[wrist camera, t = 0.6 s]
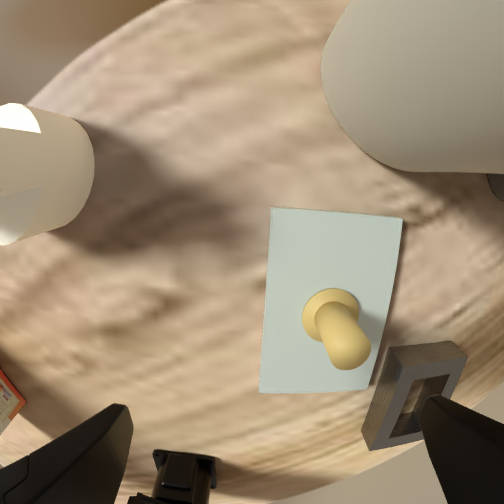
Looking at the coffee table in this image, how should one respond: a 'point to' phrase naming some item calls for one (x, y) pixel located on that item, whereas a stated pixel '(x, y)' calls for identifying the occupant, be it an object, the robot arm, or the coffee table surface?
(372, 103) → the cylinder vase
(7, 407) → the cracker box
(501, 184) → the bottle
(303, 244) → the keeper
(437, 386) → the link
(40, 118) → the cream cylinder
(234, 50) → the coffee table surface
